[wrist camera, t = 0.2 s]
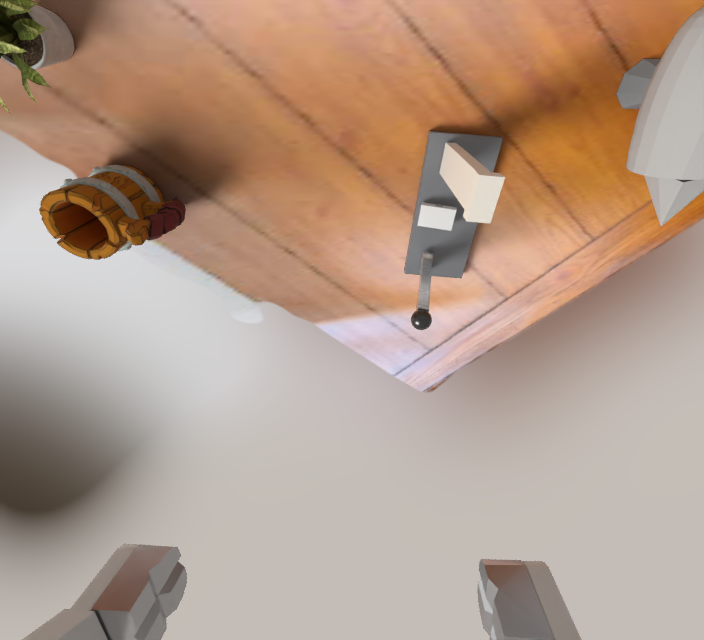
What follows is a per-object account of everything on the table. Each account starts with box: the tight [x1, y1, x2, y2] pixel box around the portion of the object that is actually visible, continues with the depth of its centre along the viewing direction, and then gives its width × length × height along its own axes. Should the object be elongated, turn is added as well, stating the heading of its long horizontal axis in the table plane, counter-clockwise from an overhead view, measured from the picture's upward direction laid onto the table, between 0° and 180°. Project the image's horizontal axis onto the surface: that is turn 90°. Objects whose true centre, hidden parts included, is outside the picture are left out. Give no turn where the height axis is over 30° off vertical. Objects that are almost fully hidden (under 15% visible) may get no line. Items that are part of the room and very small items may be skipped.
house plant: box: [0, 0, 74, 115], centre depth 37 cm, size 14×14×16 cm
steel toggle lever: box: [411, 250, 434, 330], centre depth 50 cm, size 3×4×19 cm
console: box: [404, 131, 503, 278], centre depth 54 cm, size 10×22×2 cm, turn 176°
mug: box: [39, 164, 185, 259], centre depth 49 cm, size 11×16×15 cm, turn 85°
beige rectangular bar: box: [439, 142, 505, 223], centre depth 40 cm, size 2×4×19 cm, turn 176°
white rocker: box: [417, 202, 457, 231], centre depth 52 cm, size 5×3×1 cm, turn 86°
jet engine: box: [616, 6, 704, 226], centre depth 38 cm, size 15×20×18 cm
